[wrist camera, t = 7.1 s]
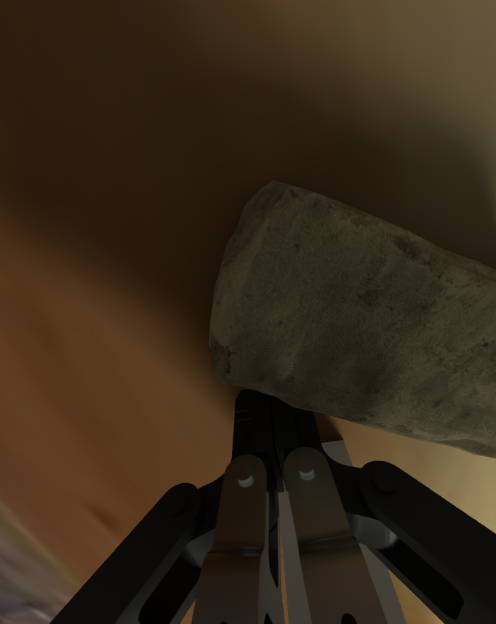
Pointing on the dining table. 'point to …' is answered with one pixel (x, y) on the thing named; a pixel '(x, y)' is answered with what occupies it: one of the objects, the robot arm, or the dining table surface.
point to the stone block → (357, 320)
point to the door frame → (292, 565)
